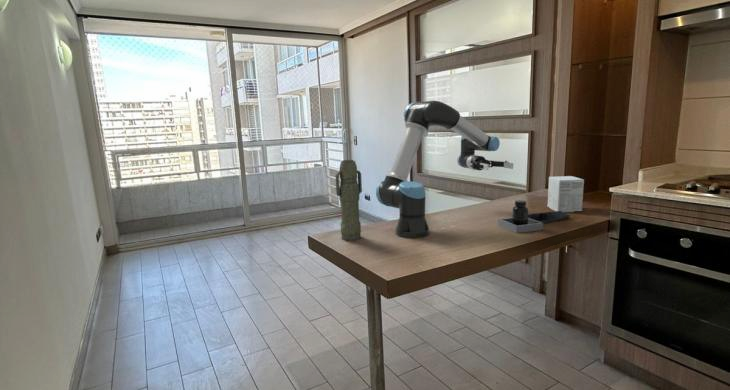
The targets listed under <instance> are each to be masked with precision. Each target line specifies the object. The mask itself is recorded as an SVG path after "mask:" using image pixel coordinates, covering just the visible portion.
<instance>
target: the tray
mask: <svg viewBox="0 0 730 390" xmlns="http://www.w3.org/2000/svg"><path fill="white" fill-rule="evenodd" d="M512 218H513V216H512V217H504V218H497V219H498V220H497V226H498V227H501V228H503V229H506V230H508V231H511V232H513V233H516V234H519V233H527V232H535V231H542V230H543V229H544V224H543V223H541V222H538V221H536V220H533V219H530V218H528V224H526V225H518V226H517V225H515V224H512Z"/></svg>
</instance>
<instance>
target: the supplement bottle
mask: <svg viewBox="0 0 730 390" xmlns="http://www.w3.org/2000/svg"><path fill="white" fill-rule="evenodd" d="M528 214H529V208H528V207H527V201H526V200H523V199H522V200H521V199H520V200H515V201H514V206H513V207H512V217H513V218H512V217H511V218H512V224H515V225H517V226H518V225H526V224H528Z"/></svg>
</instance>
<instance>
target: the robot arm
mask: <svg viewBox="0 0 730 390" xmlns="http://www.w3.org/2000/svg"><path fill="white" fill-rule="evenodd" d="M403 117H404V119H403V120H404V126H405V128H406V130H405V131H404V135H403V138H402V140H401V143H400V145H399V147H398V148H399V149H398V152H397V154H396V156H395V159H394V162H393V164H392V168H391V170H390V173H388V174H386V175H385V178H384V180H382V181H380V182H379V183H378V184H377V186H376V188H375V195H376V198H377V201H378V202H379V203H380V205H384V206H385V207H386V206H387V207H390V208H395V209H399V218H398V221H397V224H396V228H395V234H396V236H398V237H401V238H406V239H407V238H408V239H419V238H424V237H426V236H429V234H430V227H429V225H428V221H427V219H426V191H425V190H426V188H425V185H424V184H423V183H420V182H416V181H408V179H409V175H410V172H411V169H412V167H413V163H414V160H415V157H416V155H417V153H418V150H419V147H420V144H421V140H422V139H423V136H424V134H427V133H428V131H429V128H430V127H432V126H433V127H435V126H436V127H443V128H445V129H446V130H452V131H454V132H455V133H456V134H458V135H460V136H461V137H460V138H461V139H460V154H459V155H458V157H457V159H456V161H457V165H458V166H460V167H462V168H464V169H471V170H472V171H475V170H476V171H483V170H484V171H489V168H493V167H494V168H495V167H497V168H499V167H500V168H504V169H511V170H513V169H514V162H509V161H507V160H505V161H502V160H501V161H500V160H499V161H498V160H488V159H486V158H485V156H483V155H478V154H477V155H476V154H475V153H476V151H480V152H482V151H483V152H496V151H497V150H498V149H499V147H500V144H501V143H500V142H501V141H500V138H499V137H497V136H493V135H492V136H490V135H488V133H486V132H484V131H482V130H481V129H480V128H479V127H477V126H476V125H474V124H473V123H472V122H470V121H468V120H467V119H466V118H464V117H463V116H461V113H460V112H459V111H458V110H457V109H456V108H453V107H452V106H450V105H449V104H447V103H445V102H442V101H440V100H428V101H427V100H426V101H425V100H424V101H415V102H411V103H409V104H408V105H407V106H406V108H405V109H404V112H403Z"/></svg>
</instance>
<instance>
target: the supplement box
mask: <svg viewBox="0 0 730 390" xmlns="http://www.w3.org/2000/svg"><path fill="white" fill-rule="evenodd" d="M584 185H585V179H583V178H580V177H576V176H574V175H573V176H572V175H566V176H565V175H564V176H561V175H560V176H557V175H556V176H548V191H547V192H548V193H547V208H548V207H549V209H551V211H553V212H555V211H562V212H563V213H575V212H574V211H583V200H584Z"/></svg>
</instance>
